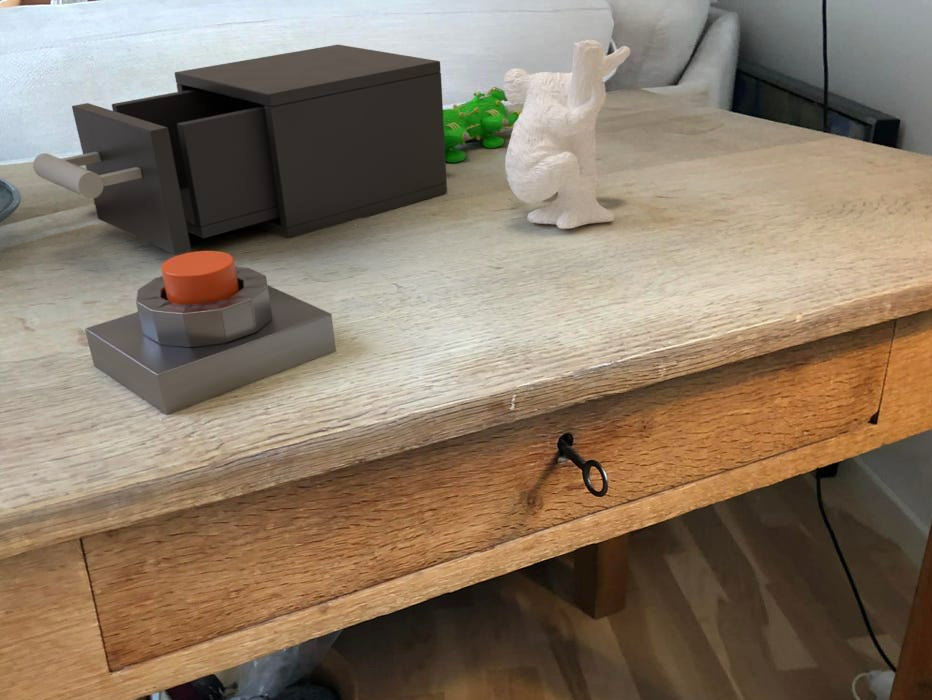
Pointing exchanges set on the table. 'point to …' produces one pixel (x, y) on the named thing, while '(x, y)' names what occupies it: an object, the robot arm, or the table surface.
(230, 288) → the button
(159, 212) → the drawer
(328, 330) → the button block
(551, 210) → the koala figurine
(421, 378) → the table surface
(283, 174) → the storage box
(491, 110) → the crocodile figurine
